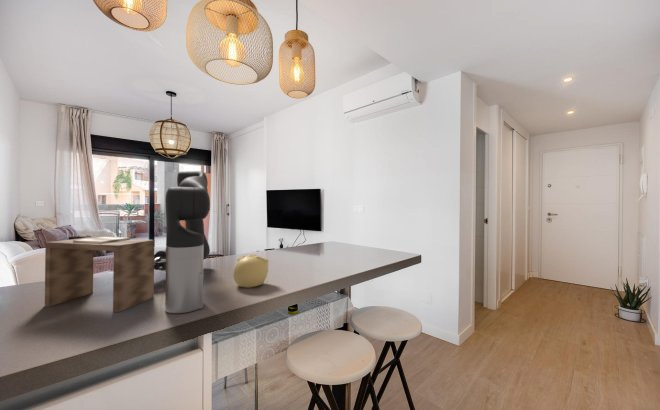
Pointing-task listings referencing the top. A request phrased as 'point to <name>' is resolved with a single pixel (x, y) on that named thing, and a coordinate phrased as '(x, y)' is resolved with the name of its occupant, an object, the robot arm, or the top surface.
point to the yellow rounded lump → (250, 271)
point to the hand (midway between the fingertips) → (132, 268)
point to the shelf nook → (77, 269)
